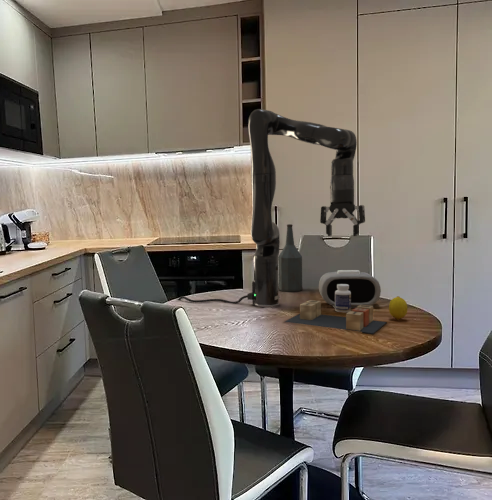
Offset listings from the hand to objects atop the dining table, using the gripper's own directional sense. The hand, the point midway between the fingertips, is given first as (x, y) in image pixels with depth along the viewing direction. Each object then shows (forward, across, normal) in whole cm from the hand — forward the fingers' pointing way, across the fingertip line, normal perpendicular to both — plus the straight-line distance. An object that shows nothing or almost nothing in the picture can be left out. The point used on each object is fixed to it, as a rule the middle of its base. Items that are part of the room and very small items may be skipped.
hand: (342, 235), depth 168 cm
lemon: (+28, -17, -3) cm, 33 cm away
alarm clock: (+28, +3, -17) cm, 33 cm away
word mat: (+28, -1, +11) cm, 30 cm away
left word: (+28, +8, +8) cm, 30 cm away
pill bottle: (+28, +2, -7) cm, 29 cm away
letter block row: (+28, -9, +11) cm, 31 cm away
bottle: (+28, +35, -37) cm, 58 cm away
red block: (+28, -9, +11) cm, 31 cm away
